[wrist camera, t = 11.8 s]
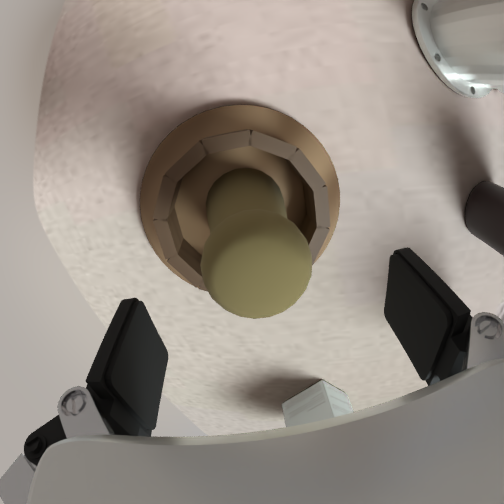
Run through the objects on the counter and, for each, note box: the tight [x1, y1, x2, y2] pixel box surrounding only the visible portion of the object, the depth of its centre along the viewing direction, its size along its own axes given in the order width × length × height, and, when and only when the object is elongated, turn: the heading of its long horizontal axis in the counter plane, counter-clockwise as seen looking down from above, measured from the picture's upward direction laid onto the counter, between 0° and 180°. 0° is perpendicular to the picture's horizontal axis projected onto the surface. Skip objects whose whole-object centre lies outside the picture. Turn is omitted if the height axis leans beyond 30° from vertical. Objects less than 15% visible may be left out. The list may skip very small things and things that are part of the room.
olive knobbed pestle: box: [200, 168, 312, 319], centre depth 17 cm, size 6×6×11 cm
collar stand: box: [140, 105, 340, 291], centre depth 21 cm, size 16×16×4 cm
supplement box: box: [282, 380, 354, 427], centre depth 30 cm, size 7×7×13 cm
